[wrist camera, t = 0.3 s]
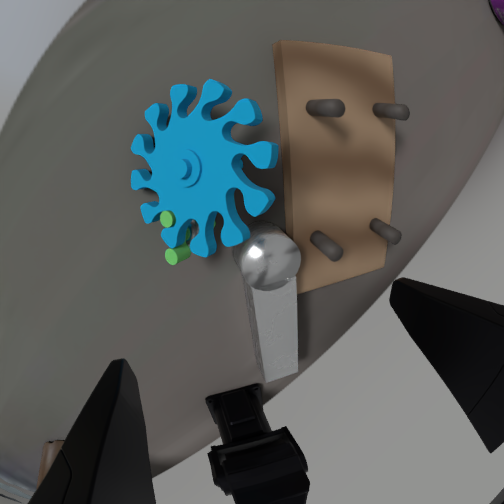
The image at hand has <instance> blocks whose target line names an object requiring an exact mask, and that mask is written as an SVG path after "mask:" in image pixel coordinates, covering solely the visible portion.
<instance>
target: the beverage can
mask: <svg viewBox="0 0 504 504" xmlns="http://www.w3.org/2000/svg"><path fill="white" fill-rule="evenodd" d="M489 2H490V5H491V8H492V10H493V12H494V14H495V15H496V17H497V18H498V19H499V20H500V22H501V23H502V24H503V25H504V0H489Z"/></svg>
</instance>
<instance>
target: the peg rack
mask: <svg viewBox="0 0 504 504" xmlns="http://www.w3.org/2000/svg"><path fill="white" fill-rule="evenodd" d="M272 46H273V55H274V65H275V76H276V87H277V98H278V110H279V123H280V136H281V150H282V166H283V183H284V202H285V223H286V235H287V236H288V237H289V238H290V239H291V240H292V241H293V242H294V243H295V244H296V245H297V246H298V248H299V250H300V254H301V263H300V267H299V269H298V272H297V273H296V288H297V294H299V293H303V292H306V291H310V290H313V289H316V288H320V287H323V286H326V285H330V284H333V283H336V282H339V281H343V280H346V279H349V278H352V277H355V276H358V275H361V274H364V273H368V272H371V271H374V270H377V269H380V268H383V267H384V263H385V257H386V250H387V243H388V241H389V242H390V243H392V244H394V245H395V244H397V243H398V242H399V241H400V239H401V232H400V231H398V230H397V229H395V228H393V227H391V226H390V218H391V208H392V197H393V183H394V165H395V119H398V120H407V119H408V118H409V115H410V112H409V108H408V107H407V106H406V105H403V104H395V98H394V80H393V67H392V57H391V56H390V55H385V54H381V53H377V52H372V51H367V50H362V49H357V48H351V47H345V46H338V45H331V44H323V43H314V42H303V41H289V40H280V41H278V42H276V43H274V44H273V45H272Z"/></svg>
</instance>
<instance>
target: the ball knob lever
mask: <svg viewBox="0 0 504 504" xmlns="http://www.w3.org/2000/svg"><path fill="white" fill-rule="evenodd" d="M247 227H248V228H249V231H250V238H249V239H247V240H245V241H243V242H241V243H239V244H237V245H234V246H233V250H232V251H233V257H234V259H235V261H236V263H237V265H238V267H239V269H240V271H241V273H242V279H243V285H244V291H245V297H246V303H247V309H248V315H249V321H250V327H251V333H252V339H253V345H254V351H255V357H256V362H257V365H258V367H259V369H260V371H261V374H262V376H263V378H264V380H265V382H266V383H267V382H270V381H273V380H276V379H279V378H282V377H285V376H288V375H290V374H293V373H296V372H298V325H297V288H296V273H297V272H298V269H299V267H300V263H301V254H300V250H299V248H298V246H297V245H296V244H295V243H294V242H293V241H292V240H291V239H290V238H289V237H288V236H287V235H286V234H285V233H284V232H283V231H282V230H281V229H280V228H279V227H278V226H276V225H275V224H273V223H271V222H266V221H259V222H255V223H252V224H249V225H248V226H247Z"/></svg>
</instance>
